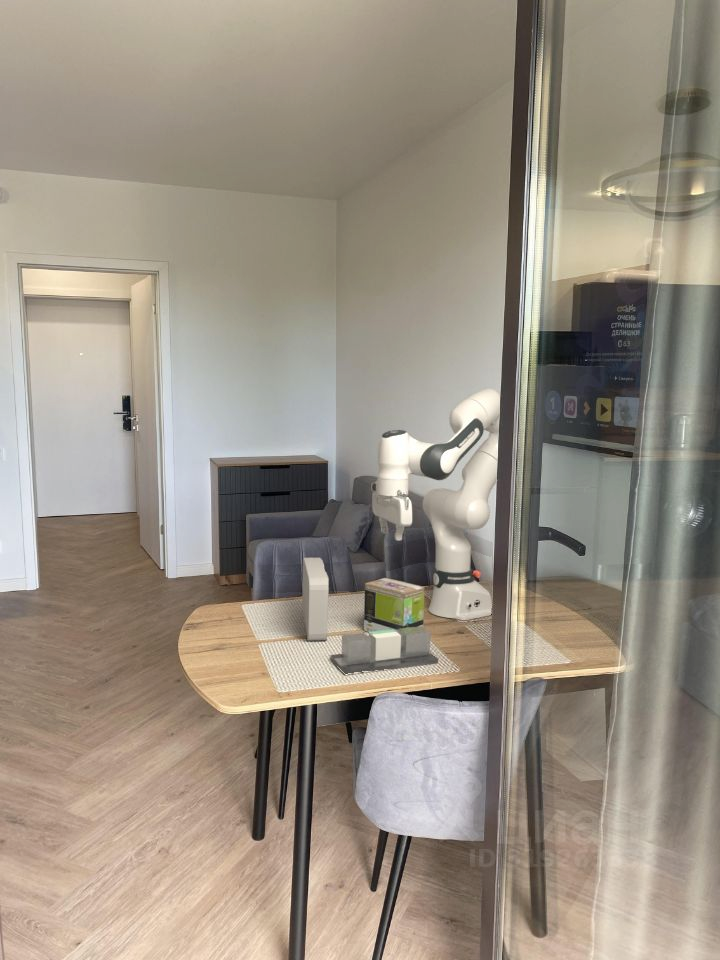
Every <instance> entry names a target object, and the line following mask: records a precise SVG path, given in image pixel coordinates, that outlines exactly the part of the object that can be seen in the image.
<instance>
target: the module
mask: <svg viewBox="0 0 720 960" xmlns="http://www.w3.org/2000/svg"><path fill="white" fill-rule="evenodd" d="M368 637H369V638H370V639H371V652H370V656H371V657H372V658H373V659H374V660H375V661H378V660H386V659H393V658H400V651H401V635H400V634H399V633H397V632H396V631H395V630H394V629H391V630H382V631H373V632H368Z"/></svg>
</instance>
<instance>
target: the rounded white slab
mask: <svg viewBox="0 0 720 960" xmlns="http://www.w3.org/2000/svg"><path fill="white" fill-rule="evenodd" d="M329 581H330V580H329V575H328V573H327V572H326V570H325V564H324V561H323V559H322V558H321V557H303V559H302V603H301V608H302V610H301V611H302V616H303V622H305V623H304V627H305V632H306V639H307V641H327V640H328V629H329V628H328V627H329V626H328V620H329V590H330V589H329V588H330V584H329V583H330V582H329Z"/></svg>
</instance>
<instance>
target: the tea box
mask: <svg viewBox="0 0 720 960" xmlns="http://www.w3.org/2000/svg"><path fill="white" fill-rule="evenodd" d="M363 602H364V605H363V607H364V609H363V613H364V615H363V631H364V632H366V633H367V632H368V633H369V632H373V631H382V630H391V629H394V630H395V631H396V632H397V633H398V629H401V628H410V627H419V626H423V627H424V618H425V617H424V616H425V613H424V612H425V611H424V610H425V586H422V585H418V584H414V583H410V582H405V581H401V580H396V579H392V578H389V577H383V578H380V579H377V580H372V581H368V582H365V583H364V601H363Z"/></svg>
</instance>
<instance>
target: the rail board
mask: <svg viewBox="0 0 720 960" xmlns="http://www.w3.org/2000/svg"><path fill="white" fill-rule="evenodd" d="M398 633H399V634H400V635H401V651H400V658H393V659H386V660H378V661H375V660H374V659H373V658H372V657H371V656H370V652H371V639H370V638H369V635H367V634H366V633H365V632H356V633H349V634H342V635H341V653H337V654H330V659H331V660H332V661H333V662H334V663H335V664H336V665H337V666H338V667H339V668H340V669H341V670H342V671H343V672H344V673H345V674H348V673H354V672H362V671H375V670H382V671H385V670H384V669H390V670H396V669H403V668H412V667H419V666H427V665H433V664H438V663H439V658H438V656H436V655H434V654H433V652H432V651H431V631H430V630H429V629H427V628H426V627H424V625H423V626H419V627H410V628H401V629H398ZM330 659H329V660H330ZM331 660H330V661H331ZM332 661H331V662H332ZM333 662H332V663H333ZM334 663H333V664H334ZM335 664H334V665H335ZM336 665H335V666H336ZM337 666H336V667H337ZM338 667H337V668H338ZM339 668H338V669H339ZM375 672H376V671H375Z"/></svg>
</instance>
